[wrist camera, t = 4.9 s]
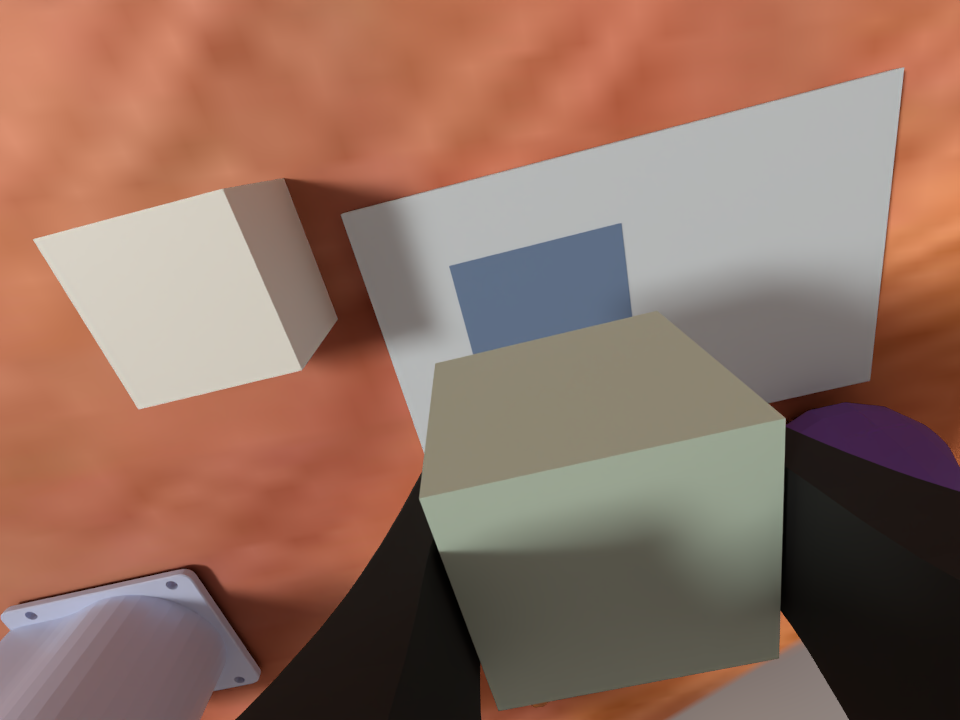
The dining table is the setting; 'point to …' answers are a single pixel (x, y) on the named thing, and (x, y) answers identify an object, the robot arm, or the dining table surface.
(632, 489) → the block base
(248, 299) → the block top
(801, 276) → the grey base plate
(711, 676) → the dining table surface
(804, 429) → the kendama
